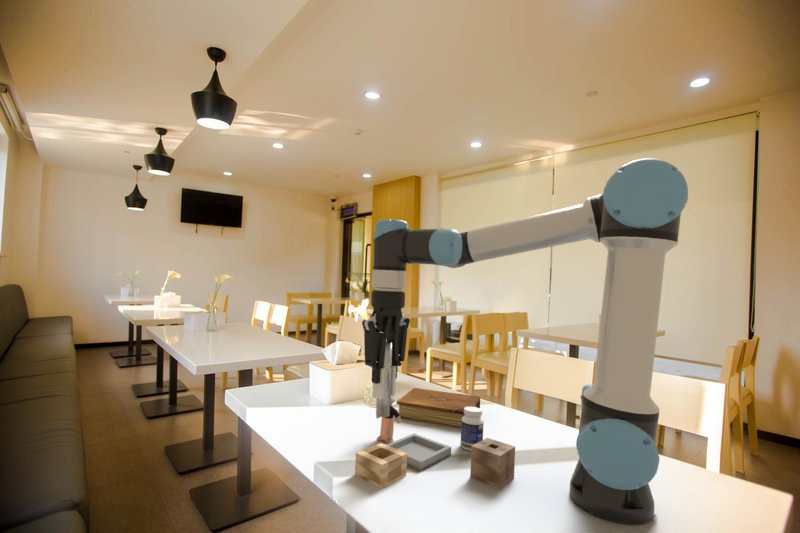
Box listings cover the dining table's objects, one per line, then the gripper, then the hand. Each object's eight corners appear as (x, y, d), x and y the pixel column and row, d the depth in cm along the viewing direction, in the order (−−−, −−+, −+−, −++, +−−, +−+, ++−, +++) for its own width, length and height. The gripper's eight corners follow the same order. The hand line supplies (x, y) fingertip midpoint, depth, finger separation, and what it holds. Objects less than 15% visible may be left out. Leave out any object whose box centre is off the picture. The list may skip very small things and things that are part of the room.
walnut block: (514, 478, 92) (515, 446, 92) (499, 489, 86) (500, 456, 86) (486, 467, 96) (487, 437, 96) (470, 478, 91) (471, 446, 91)
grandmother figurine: (370, 440, 109) (373, 392, 109) (376, 435, 113) (378, 389, 113) (398, 445, 106) (400, 396, 107) (403, 440, 110) (405, 392, 110)
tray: (451, 455, 102) (451, 447, 102) (421, 470, 93) (421, 461, 93) (413, 441, 110) (413, 433, 110) (382, 454, 101) (383, 446, 101)
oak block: (406, 476, 91) (407, 453, 91) (381, 489, 85) (382, 464, 85) (380, 464, 96) (381, 442, 96) (354, 475, 90) (355, 452, 90)
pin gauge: (392, 414, 91) (395, 342, 91) (383, 418, 89) (386, 343, 89) (382, 411, 93) (385, 340, 93) (373, 414, 91) (376, 341, 91)
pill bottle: (482, 453, 104) (484, 413, 104) (459, 450, 105) (461, 411, 105) (482, 444, 110) (483, 406, 110) (461, 441, 111) (462, 404, 111)
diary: (479, 413, 137) (480, 396, 137) (469, 432, 120) (470, 412, 120) (414, 403, 145) (415, 386, 145) (395, 419, 128) (396, 400, 128)
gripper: (399, 289, 100) (395, 386, 99) (350, 288, 88) (344, 399, 87) (423, 290, 95) (419, 393, 94) (375, 290, 83) (369, 407, 82)
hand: (383, 395), depth 91 cm, fingers closed on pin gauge, 3 cm apart
